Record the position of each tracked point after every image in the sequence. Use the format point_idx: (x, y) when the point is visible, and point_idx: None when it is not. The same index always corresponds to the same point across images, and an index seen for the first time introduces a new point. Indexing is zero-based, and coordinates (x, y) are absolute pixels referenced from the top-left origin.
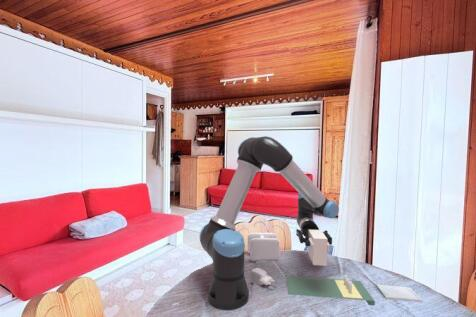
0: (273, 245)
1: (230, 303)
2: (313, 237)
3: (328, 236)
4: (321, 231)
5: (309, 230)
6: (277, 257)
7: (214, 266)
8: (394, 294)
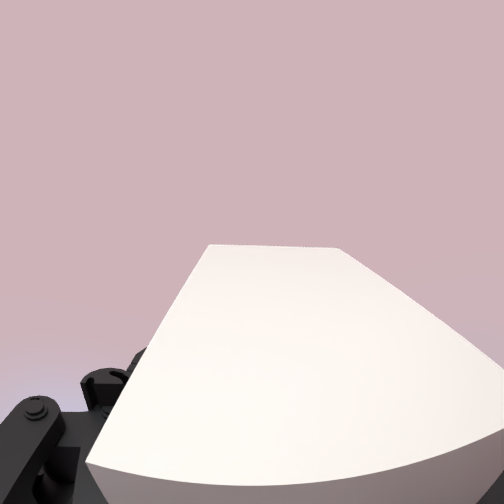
0: None
1: None
2: (342, 253)
3: (7, 469)
4: (158, 360)
5: (493, 368)
6: None
7: None
8: None
